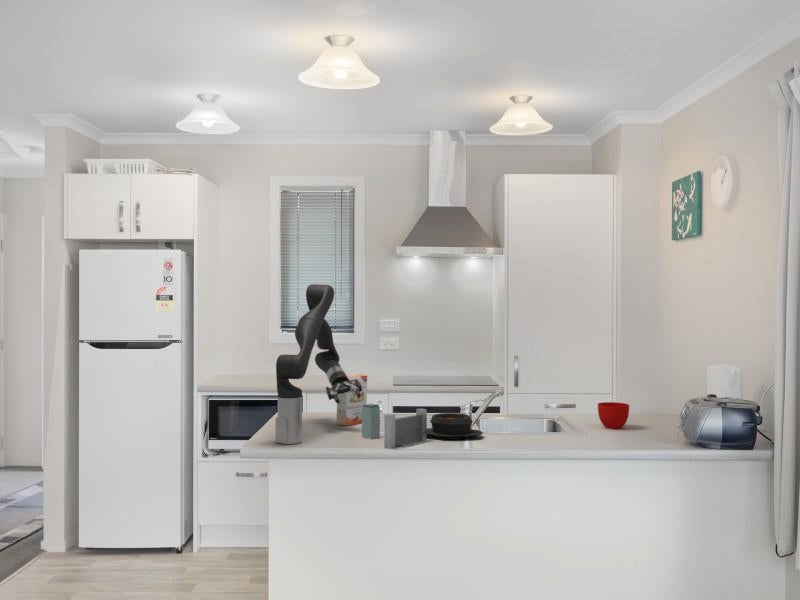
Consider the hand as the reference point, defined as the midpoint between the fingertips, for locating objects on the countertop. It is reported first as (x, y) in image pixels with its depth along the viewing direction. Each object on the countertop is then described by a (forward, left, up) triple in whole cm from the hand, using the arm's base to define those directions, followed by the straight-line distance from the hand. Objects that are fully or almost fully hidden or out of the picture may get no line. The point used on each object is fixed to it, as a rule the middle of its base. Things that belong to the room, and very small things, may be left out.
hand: (348, 399), depth 308 cm
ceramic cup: (+86, -73, -14) cm, 114 cm away
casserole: (+22, -35, -14) cm, 44 cm away
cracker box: (+18, +16, -14) cm, 28 cm away
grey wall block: (-1, -32, -14) cm, 35 cm away
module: (0, -12, -14) cm, 18 cm away
